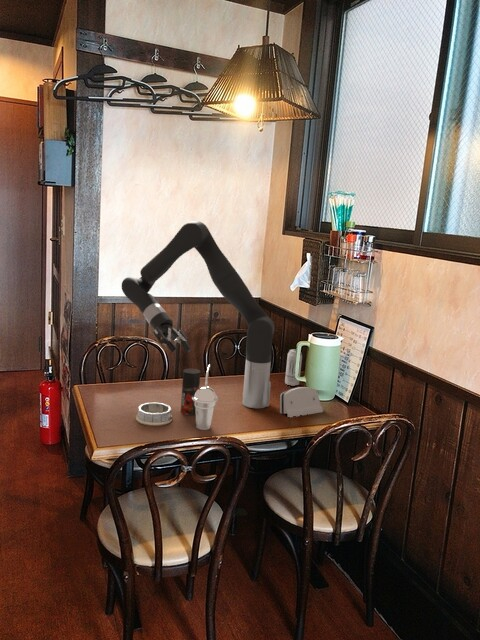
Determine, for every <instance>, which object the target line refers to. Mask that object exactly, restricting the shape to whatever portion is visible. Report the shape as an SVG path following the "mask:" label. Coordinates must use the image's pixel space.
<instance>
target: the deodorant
mask: <svg viewBox="0 0 480 640" xmlns="http://www.w3.org/2000/svg"><path fill="white" fill-rule="evenodd" d="M182 373H183V374H182V383H181V384H182V387H181V400H180V401H181V402H180V413H181V414H182V415H186V416H196V413H195V404H194V401H193V400H192V397H193V395H194V394H195V393H196V391H197V390H198V389H199V388H200V385H201V383H200V381H201V370H200V369H197V368H189V367H188V368H184V369H183V371H182Z"/></svg>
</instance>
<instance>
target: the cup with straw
mask: <svg viewBox="0 0 480 640" xmlns="http://www.w3.org/2000/svg"><path fill="white" fill-rule="evenodd" d="M210 369H211V364H208V366H207V370H206V371H205V372H206V373H205V383H204V384H205V385H204V386H201V387H200V386H199V389H198V390H197V391H196V393H195V394H194V395H193V397H192V400H193V401H194V404H195V413H196V414H195V425H196V426H195V428H196V429H198V430H202V431H207V430H210V428H211V424H212V419H213V413H214V409H215V406H216V402H218V401H219V397H218V396H217V394H216V392H215V389H213V388H212V387H210V386H208V385H209V384H208V381H209V372H210Z"/></svg>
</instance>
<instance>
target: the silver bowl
mask: <svg viewBox="0 0 480 640" xmlns="http://www.w3.org/2000/svg"><path fill="white" fill-rule="evenodd" d="M135 420H136V422H137V423H139V424H141V425H144V426H149V427H161V426H166V425H168V424H171V422H172V421H173V415H172V408H171V406H170V405H168V404H167V403H164V402H163V403H162V402H155V401H154V402H146V403H141V404H139V406H137V414H136V415H135Z"/></svg>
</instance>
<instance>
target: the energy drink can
mask: <svg viewBox="0 0 480 640" xmlns="http://www.w3.org/2000/svg"><path fill="white" fill-rule="evenodd" d="M296 350H297V349H295V348H294V349H292V348H291V349H289V351H288V353H287V359H286V368H285V369H286V370H285V378H284V384H285V385H286V384H287V385H291V386H295V385H298V386H299V385H300V380H299V381H298V380H296V379H295V373H294V372H295V361H296ZM302 360H303V354H302V353H301V355H300V364H299V376H300V377H301V369H302ZM287 385H286V386H287Z"/></svg>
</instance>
